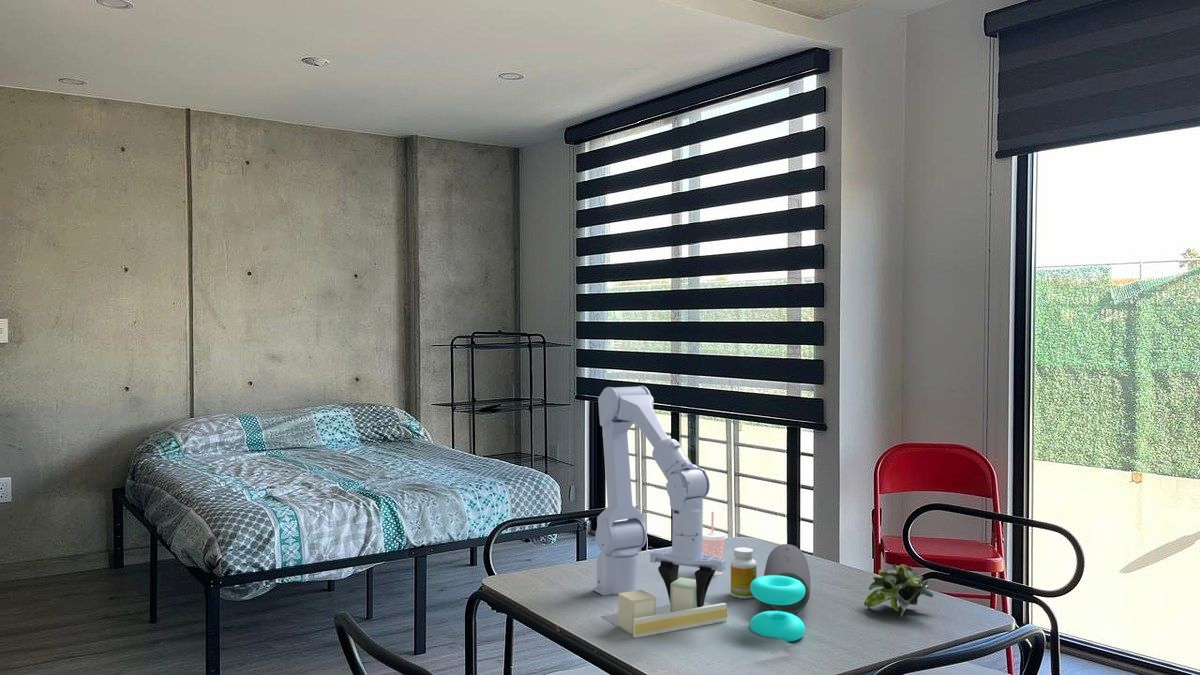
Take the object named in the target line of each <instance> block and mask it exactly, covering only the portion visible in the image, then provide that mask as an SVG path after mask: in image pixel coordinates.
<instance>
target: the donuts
mask: <svg viewBox="0 0 1200 675" xmlns="http://www.w3.org/2000/svg"><path fill="white" fill-rule="evenodd" d="M750 590H751V593H752V594H753V596H754V598H755V599H757V600H758V601H761V602H762V603H764V604H768V605H770V604H773V605H789V604H794V603H796V602H798V601H800V600H801V599H802V598H803V597H804V595H805V587H804V585H803V584H802V583H801V582H800V581H799V580H797V579H794V578H791V577H787V576H779V575H768V576H764V575H761V576H758V577H756V579H754V580H753V581H752V583H751V585H750ZM749 628H750V629H751V631H752V632H754V633H756V634H757V635H761V636H764V637H770V638H775V639H780V640H782V641H784V642H786V643H790V642H795V641H797V640H800V639H801V638H803V636H804V635H805V632H806V626H805V623H804V622H803V620H802V619H801V618H800V617H798V616H797V615H796V614H791V613H787V612H783V611H776V610H765V611H762V612H760V613H759V612H758V613H757V614H755V615H754V616H753V617H752V618H751V620H750V622H749Z"/></svg>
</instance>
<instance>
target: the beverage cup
mask: <svg viewBox="0 0 1200 675" xmlns="http://www.w3.org/2000/svg"><path fill="white" fill-rule="evenodd" d="M714 513H715V512H714V511H711V530H704V531H703V540H702V554H703V555H707V556H711V557H715V558H720V559H724V550H725V549H724V548H725V540H726V536H727V535H726V533H725V532H722V531H719V530H718V531H717V530H714V524H715V523H714V519H715V518H714V517H715V516H714ZM722 574H723V571H722V572H718V571H717V570H716V571H715V573H714V575H713V576H719V575H722Z"/></svg>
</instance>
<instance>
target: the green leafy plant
mask: <svg viewBox="0 0 1200 675" xmlns="http://www.w3.org/2000/svg"><path fill="white" fill-rule="evenodd" d="M892 567H893V570H891V569H890V568H889V569H888V568H886V570H884V571H883V570H881V569H879V570H878V575H879V577H878V576H877V577H876V576H872V579H873V580H874V581H872V582H871V584H870V585H869V586H868V591H871V590H873V589H875V590H873V591H872V592H871V593H870V594H869V595H868V596H867V597H866V598H865V600H864V602H863V605H864V606H865V607H867V609H870V608H871V607H872V608H873V607H876V606H878V605H880V604H882V603H884V602H886V601H889V600H890V604H891V607H892V609H894V610H895V611H896V612H899V607H900V608H901V613H900V616H899V619H900V618H901V619H902V617H903V616H904V615H903V614H904V613H905V611H906V609H907V607H908V606H910V605H912V606H917V605H918V600H919V597H920V596H921V595H923V596H926V597H929V598H933V597H934V593H933V592H931V591H930V590H928V589H929V587H930V586H929V585H928V581H929V579H926V580H925V579H923V578H924V576H923V575H921V574H920V575H919V573H918V572H916V571H914V572H913V570H914V568H913V567H912V566H908V565H906V564H902V563H901V564H899V565H897V564H893V565H892ZM923 581H924V582H923ZM876 588H879V589H876ZM898 602H899V606H898Z"/></svg>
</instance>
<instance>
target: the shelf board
mask: <svg viewBox="0 0 1200 675" xmlns="http://www.w3.org/2000/svg"><path fill="white" fill-rule="evenodd" d="M727 605H728V604H727V603H725V602H721V603H715V604H711V605H704V606H703V607H697V608H692V609H686V610H680V611H674V612H670V604H667V605H661V606H660V605H659V606H656V615H652V616H646V617H640V618H634V619H633V634H631V633H629V632H628V631H626V630H625V629H623V628H621V627H620V626H618V613H613V614H606V615H601V616H600V617H601V618H602V619H604V620H606V622H608V623H610V624H612V625H613V626H615V627H616V628H618V629H620V630H621V631H623V632H625V634H627V635H629V636H631V637H633V638H634V639H638V638H643V637H649V636H654V635H661V634H665V633H670V632H675V631H681V630H686V629H691V628H698V627H703V626H708V625H713V624H714V625H715V624H718V623H719V624H720V623H725V622H727V620H728V619H727V618H728V608H727V607H728V606H727Z"/></svg>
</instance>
